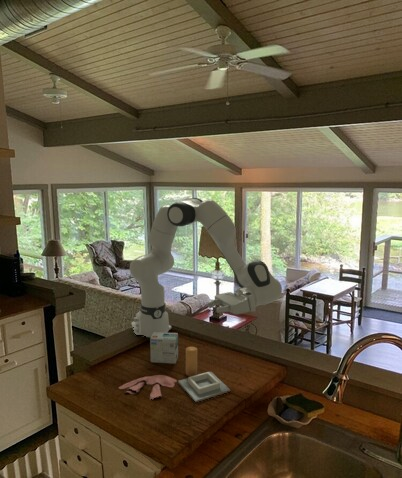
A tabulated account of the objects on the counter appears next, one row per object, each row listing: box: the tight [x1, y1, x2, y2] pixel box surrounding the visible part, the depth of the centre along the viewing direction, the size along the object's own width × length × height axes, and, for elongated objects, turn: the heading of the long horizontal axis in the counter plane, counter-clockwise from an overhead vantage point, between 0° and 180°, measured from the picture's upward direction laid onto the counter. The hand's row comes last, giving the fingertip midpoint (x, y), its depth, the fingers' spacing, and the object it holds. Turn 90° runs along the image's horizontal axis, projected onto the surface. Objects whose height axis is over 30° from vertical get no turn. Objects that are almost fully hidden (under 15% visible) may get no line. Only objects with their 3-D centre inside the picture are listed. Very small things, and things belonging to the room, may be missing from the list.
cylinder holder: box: [177, 371, 231, 403], centre depth 139 cm, size 14×14×3 cm
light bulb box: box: [149, 332, 179, 365], centre depth 159 cm, size 11×7×11 cm, turn 84°
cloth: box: [118, 374, 178, 400], centre depth 138 cm, size 20×22×2 cm
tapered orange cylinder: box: [185, 346, 198, 377], centre depth 148 cm, size 4×4×10 cm
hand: (212, 307), depth 149 cm, fingers open, 8 cm apart
